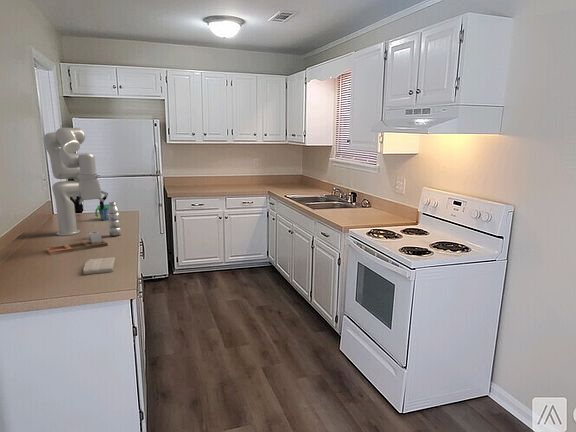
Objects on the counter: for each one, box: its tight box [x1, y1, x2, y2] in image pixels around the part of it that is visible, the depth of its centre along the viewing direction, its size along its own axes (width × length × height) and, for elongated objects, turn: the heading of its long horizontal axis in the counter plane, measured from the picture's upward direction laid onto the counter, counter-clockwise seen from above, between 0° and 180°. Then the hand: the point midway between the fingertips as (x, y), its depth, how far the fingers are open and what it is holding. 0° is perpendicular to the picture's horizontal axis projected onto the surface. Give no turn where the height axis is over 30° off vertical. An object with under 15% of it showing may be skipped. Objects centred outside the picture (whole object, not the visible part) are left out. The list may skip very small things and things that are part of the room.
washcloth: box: [82, 256, 116, 275], centre depth 179 cm, size 12×18×3 cm, turn 20°
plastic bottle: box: [107, 201, 122, 237], centre depth 237 cm, size 6×7×20 cm
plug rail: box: [45, 239, 109, 256], centre depth 212 cm, size 11×27×2 cm, turn 130°
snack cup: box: [94, 203, 110, 221], centre depth 287 cm, size 16×10×10 cm
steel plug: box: [88, 230, 103, 245], centre depth 217 cm, size 5×5×7 cm
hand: (92, 210), depth 213 cm, fingers open, 9 cm apart
